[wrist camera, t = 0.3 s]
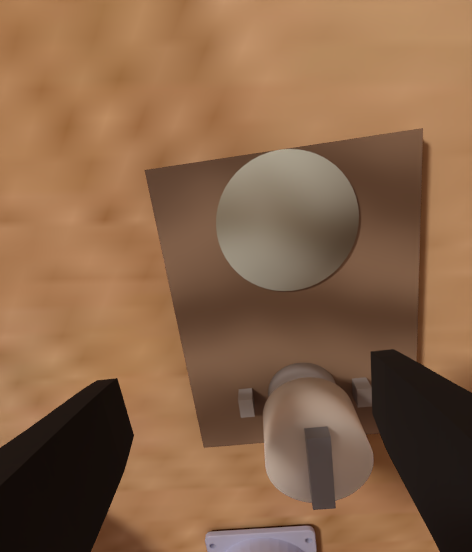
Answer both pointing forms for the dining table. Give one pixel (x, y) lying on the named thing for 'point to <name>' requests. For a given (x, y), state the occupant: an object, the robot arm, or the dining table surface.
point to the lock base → (290, 271)
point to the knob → (315, 442)
